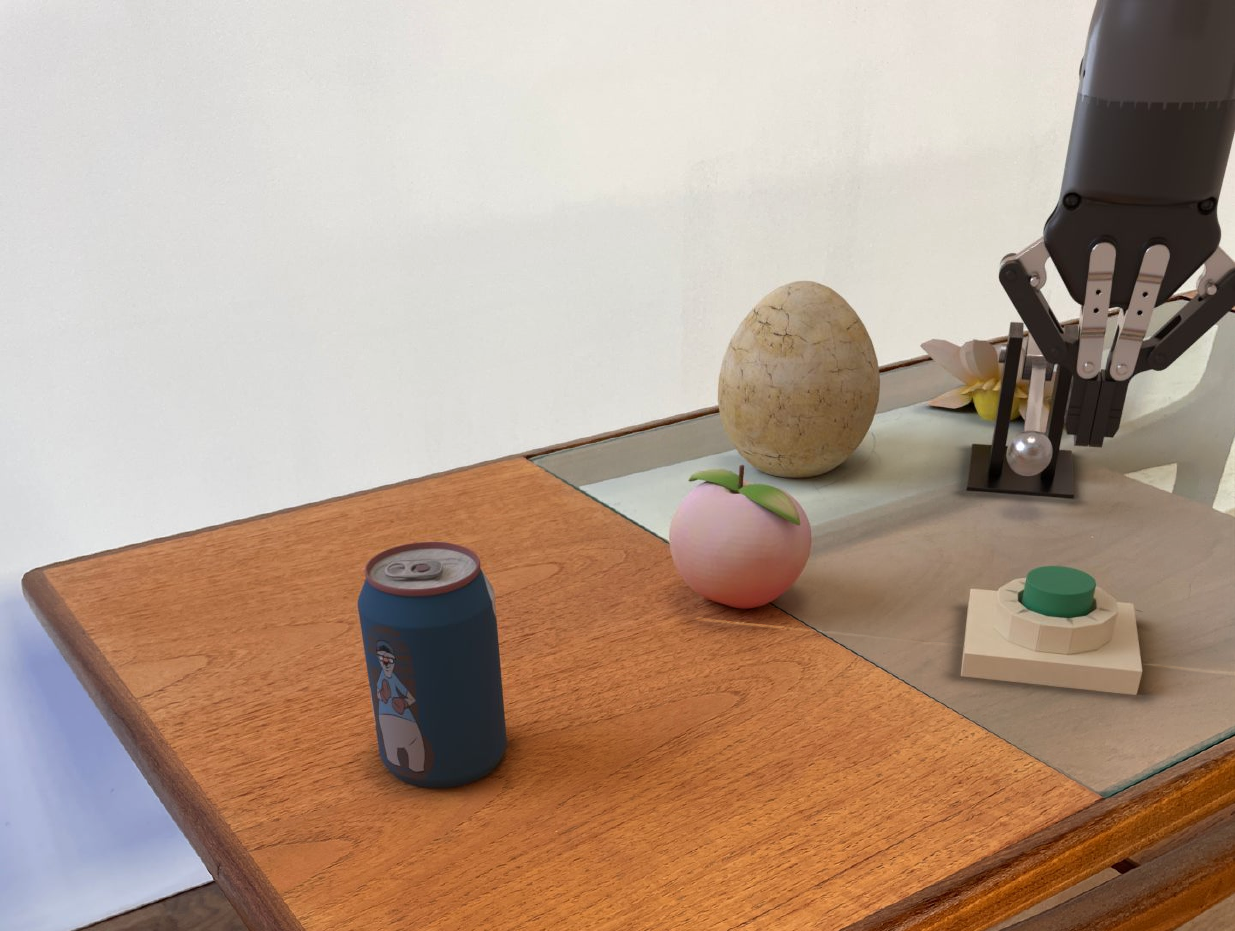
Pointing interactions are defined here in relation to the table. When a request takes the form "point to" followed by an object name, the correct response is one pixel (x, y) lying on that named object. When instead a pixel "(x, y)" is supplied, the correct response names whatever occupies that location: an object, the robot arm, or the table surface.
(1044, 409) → the decorative flower
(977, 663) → the button block
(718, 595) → the decorative fruit
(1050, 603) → the green push button
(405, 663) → the soda can
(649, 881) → the table surface
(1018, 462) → the tap lever
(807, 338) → the fossilized egg
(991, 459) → the black metal frame
